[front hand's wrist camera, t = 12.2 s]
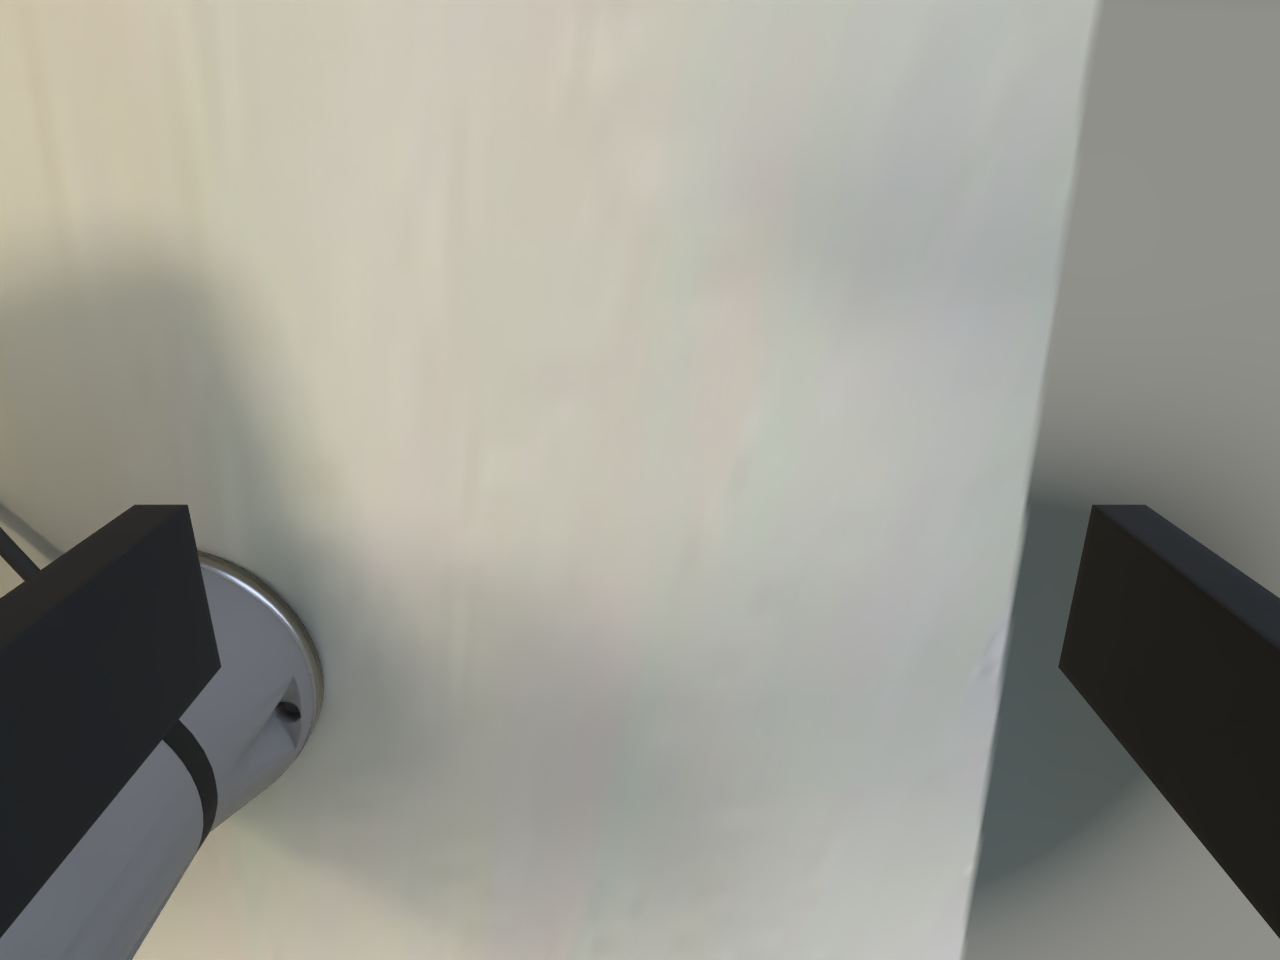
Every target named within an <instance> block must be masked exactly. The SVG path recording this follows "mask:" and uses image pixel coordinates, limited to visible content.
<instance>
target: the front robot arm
mask: <svg viewBox="0 0 1280 960" xmlns="http://www.w3.org/2000/svg"><path fill="white" fill-rule="evenodd" d="M0 555H1V556H2V558H3V559H4V560H5V561H6V562H7V563H8V564H9V565H10V566H11V567H12V568H13V569H14V570H15V571H16V572H17V573H18V574H19V575H20V577H21V578H22V579H23V580H24V581H25V582H23V583H22V584H20V585H19V586H17V587H16V588H15V589H13V590H12V591H10V592H9V593H7V594H6V595H5V596H3V597H2V598H0V960H132V959H133V957H134V955H135V954H136V952H137V950H138V949H139V947H140V945H141V944H142V942H143V941H144V939H145V937H146V936H147V934H148V932H149V931H150V929H151V927H152V926H153V924H154V922H155V921H156V919H157V917H158V916H159V914H160V912H161V911H162V909H163V907H164V906H165V904H166V903H167V901H168V899H169V898H170V896H171V894H172V893H173V891H174V889H175V888H176V886H177V884H178V883H179V881H180V879H181V878H182V876H183V874H184V873H185V871H186V870H187V868H188V866H189V865H190V863H191V861H192V860H193V858H194V856H195V854H196V853H197V851H198V850H199V848H200V847H201V845H202V843H203V842H204V840H205V839H206V837H207V835H208V834H209V832H211V831H212V830H213V829H215V828H216V827H217V826H218V825H220V824H221V823H222V822H224V821H225V820H226V819H227V818H229V817H230V816H231V815H233V814H234V813H235V812H236V811H238V810H239V809H240V808H241V807H243V806H244V805H245V804H247V803H248V802H249V801H250V800H252V799H253V798H254V797H256V796H257V795H258V794H259V793H261V792H262V791H263V790H265V789H266V788H267V787H268V786H270V785H271V784H272V783H274V782H275V781H276V780H277V779H278V778H279V777H280V776H281V775H282V774H283V773H284V772H285V771H286V769H287V768H288V767H289V766H290V765H291V764H292V763H293V761H294V760H295V759H296V757H297V756H298V755H299V754H300V752H301V750H302V749H303V747H304V745H305V743H306V742H307V740H308V738H309V736H310V735H311V733H312V731H313V729H314V727H315V725H316V722H317V720H318V717H319V714H320V710H321V705H322V699H323V676H322V670H321V665H320V661H319V658H318V654H317V651H316V649H315V646H314V644H313V642H312V639H311V637H310V636H309V634H308V632H307V630H306V628H305V627H304V625H303V624H302V622H301V621H300V619H299V618H298V616H297V615H296V614H295V613H294V611H293V610H292V609H291V608H290V607H289V605H288V604H287V603H286V602H285V601H284V600H283V599H282V598H281V597H280V596H279V595H278V594H277V593H275V592H274V591H273V590H272V589H271V588H270V587H268V586H267V585H266V584H265V583H263V582H262V581H260V580H259V579H258V578H256V577H255V576H253V575H252V574H250V573H248V572H247V571H245V570H243V569H242V568H240V567H238V566H236V565H234V564H232V563H230V562H228V561H225V560H223V559H220V558H218V557H216V556H213V555H210V554H207V553H203V552H200V551H197V548H196V543H195V538H194V533H193V528H192V524H191V519H190V514H189V509H188V505H134V506H132V507H131V508H129V509H128V510H127V511H125V512H124V513H122V514H121V515H119V516H118V517H117V518H115V519H114V520H112V521H111V522H109V523H108V524H107V525H105V526H104V527H102V528H101V529H99V530H98V531H96V532H95V533H94V534H92V535H91V536H89V537H88V538H86V539H85V540H84V541H82V542H81V543H79V544H78V545H76V546H75V547H73V548H72V549H71V550H69V551H68V552H66V553H65V554H63V555H62V556H61V557H59V558H58V559H56V560H55V561H53V562H52V563H50V564H49V565H48V566H46V567H45V568H43V569H42V570H40V569H39V568H38V567H37V566H36V565H35V564H34V563H33V562H32V561H31V560H30V559H29V557H28V556H27V555H26V554H25V553H24V552H23V551H22V550H21V549H20V548H19V547H18V546H17V545H16V544H15V543H14V541H13V540H12V539H11V538H10V537H9V536H8V535H7V534H6V533H5V532H4V531H3V530H2V528H1V527H0ZM1059 668H1060V669H1061V671H1062V672H1063V673H1064V674H1065V676H1066V677H1067V678H1068V679H1069V680H1070V682H1071V683H1072V684H1073V685H1074V687H1075V688H1076V689H1077V690H1078V691H1079V693H1080V694H1081V695H1082V696H1083V698H1084V699H1085V700H1086V701H1087V703H1088V704H1089V705H1090V706H1091V707H1092V709H1093V710H1094V711H1095V712H1096V714H1097V715H1098V716H1099V717H1100V718H1101V720H1102V721H1103V722H1104V723H1105V725H1106V726H1107V727H1108V728H1109V730H1110V731H1111V732H1112V733H1113V734H1114V736H1115V737H1116V738H1117V739H1118V741H1119V742H1120V743H1121V744H1122V745H1123V747H1124V748H1125V749H1126V750H1127V752H1128V753H1129V754H1130V755H1131V757H1132V758H1133V759H1134V760H1135V761H1136V763H1137V764H1138V765H1139V766H1140V768H1141V769H1142V770H1143V771H1144V772H1145V774H1146V775H1147V776H1148V777H1149V779H1150V780H1151V781H1152V782H1153V784H1154V785H1155V786H1156V787H1157V788H1158V790H1159V791H1160V792H1161V793H1162V795H1163V796H1164V797H1165V798H1166V800H1167V801H1168V802H1169V803H1170V804H1171V806H1172V807H1173V808H1174V809H1175V811H1176V812H1177V813H1178V814H1179V815H1180V817H1181V818H1182V819H1183V820H1184V822H1185V823H1186V824H1187V825H1188V827H1189V828H1190V829H1191V830H1192V831H1193V833H1194V834H1195V835H1196V836H1197V837H1198V839H1199V840H1200V841H1201V842H1202V844H1203V845H1204V846H1205V847H1206V849H1207V850H1208V851H1209V852H1210V853H1211V855H1212V856H1213V857H1214V858H1215V860H1216V861H1217V862H1218V863H1219V865H1220V866H1221V867H1222V868H1223V869H1224V871H1225V872H1226V873H1227V874H1228V876H1229V877H1230V878H1231V879H1232V881H1233V882H1234V883H1235V884H1236V885H1237V887H1238V888H1239V889H1240V890H1241V892H1242V893H1243V894H1244V895H1245V897H1246V898H1247V899H1248V900H1249V901H1250V903H1251V904H1252V905H1253V906H1254V908H1255V909H1256V910H1257V911H1258V912H1259V914H1260V915H1261V916H1262V917H1263V919H1264V920H1265V921H1266V922H1267V924H1268V925H1269V926H1270V927H1271V928H1272V930H1273V931H1274V932H1275V933H1276V935H1277V936H1278V937H1279V938H1280V598H1278V597H1277V596H1275V595H1274V594H1273V593H1271V592H1270V591H1268V590H1267V589H1265V588H1264V587H1263V586H1261V585H1260V584H1258V583H1257V582H1255V581H1254V580H1253V579H1251V578H1250V577H1248V576H1247V575H1245V574H1244V573H1242V572H1241V571H1240V570H1238V569H1237V568H1235V567H1234V566H1232V565H1231V564H1229V563H1228V562H1227V561H1225V560H1224V559H1222V558H1221V557H1219V556H1218V555H1217V554H1215V553H1214V552H1212V551H1211V550H1209V549H1208V548H1207V547H1205V546H1204V545H1202V544H1201V543H1199V542H1198V541H1196V540H1195V539H1194V538H1192V537H1191V536H1189V535H1188V534H1186V533H1185V532H1184V531H1182V530H1181V529H1179V528H1178V527H1176V526H1175V525H1173V524H1172V523H1171V522H1169V521H1168V520H1166V519H1165V518H1163V517H1162V516H1161V515H1159V514H1158V513H1156V512H1155V511H1153V510H1152V509H1151V508H1149V507H1148V506H1146V505H1092V509H1091V514H1090V519H1089V524H1088V529H1087V533H1086V538H1085V543H1084V548H1083V552H1082V557H1081V562H1080V567H1079V571H1078V576H1077V581H1076V586H1075V591H1074V596H1073V600H1072V605H1071V610H1070V615H1069V620H1068V624H1067V629H1066V634H1065V639H1064V643H1063V648H1062V653H1061V658H1060V662H1059Z"/></svg>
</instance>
